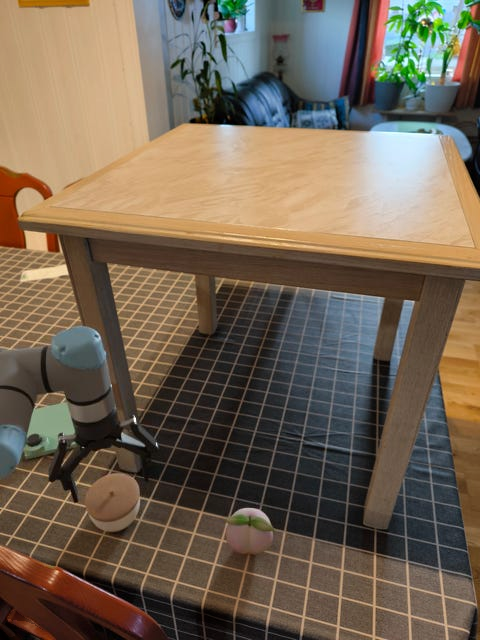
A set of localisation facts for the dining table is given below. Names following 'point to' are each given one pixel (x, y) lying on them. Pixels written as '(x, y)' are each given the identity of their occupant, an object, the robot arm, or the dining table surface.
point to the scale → (49, 429)
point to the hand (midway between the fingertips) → (111, 486)
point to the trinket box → (113, 502)
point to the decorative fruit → (249, 531)
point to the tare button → (34, 440)
